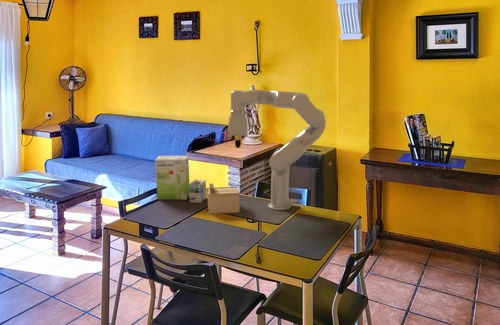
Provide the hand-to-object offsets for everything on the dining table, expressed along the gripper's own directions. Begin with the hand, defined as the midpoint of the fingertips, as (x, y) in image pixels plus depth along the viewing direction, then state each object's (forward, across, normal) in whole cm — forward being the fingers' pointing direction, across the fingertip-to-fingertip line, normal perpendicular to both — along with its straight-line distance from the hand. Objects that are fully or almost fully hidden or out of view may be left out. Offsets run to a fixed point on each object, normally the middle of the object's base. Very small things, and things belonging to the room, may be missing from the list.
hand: (237, 147), depth 226 cm
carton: (+32, +9, +8) cm, 34 cm away
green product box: (+32, +36, -17) cm, 51 cm away
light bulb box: (+32, +22, -10) cm, 40 cm away
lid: (+23, +9, +8) cm, 26 cm away
